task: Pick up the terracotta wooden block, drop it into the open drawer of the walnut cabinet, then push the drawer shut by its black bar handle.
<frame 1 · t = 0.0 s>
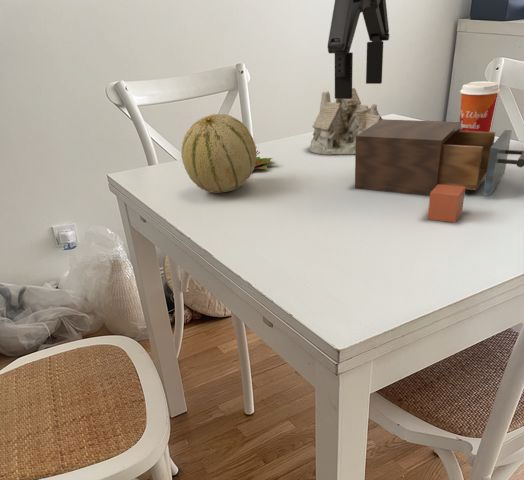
hand: (359, 90, 92), 18 cm above the table, tool pointing down, fingers open, 13 cm apart
cabinet: (405, 180, 107), on the table
lily flower: (251, 168, 123), on the table
cantaloupe: (223, 191, 111), on the table
drawer: (471, 159, 98), point 5 cm above the table, slide at 8.0 cm
paper cup: (471, 155, 118), on the table
ceramic cottage: (347, 149, 130), on the table
block: (444, 216, 90), on the table
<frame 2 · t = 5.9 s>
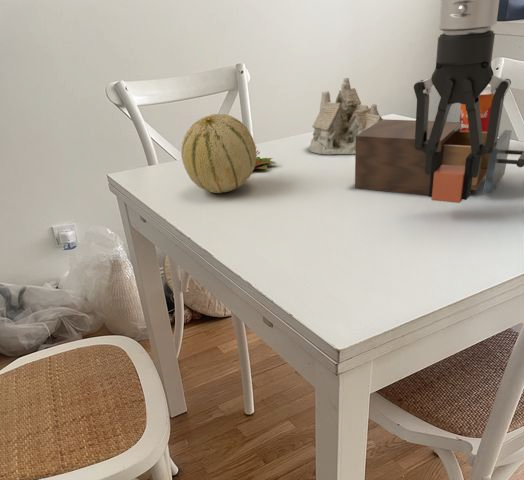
hand: (449, 195, 88), 4 cm above the table, tool pointing down, fingers closed on block, 4 cm apart
block: (449, 197, 88), point 3 cm above the table, touching gripper
everything else where it was.
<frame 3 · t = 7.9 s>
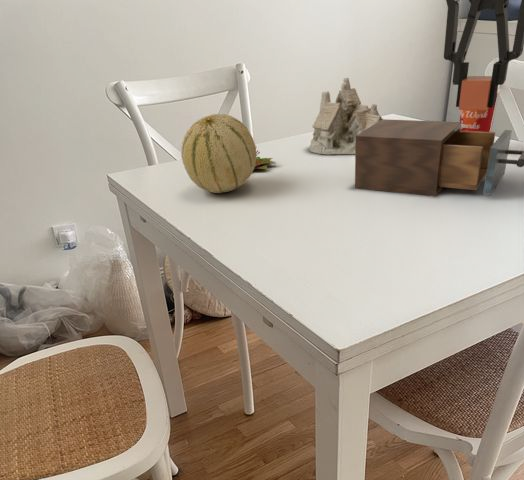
hand: (475, 105, 93), 14 cm above the table, tool pointing down, fingers closed on block, 4 cm apart
block: (475, 107, 93), point 14 cm above the table, touching gripper
everything else where it was.
when the fingers open (7 cm above the table, at t = 10.2 s): block drops 4 cm, resting on drawer.
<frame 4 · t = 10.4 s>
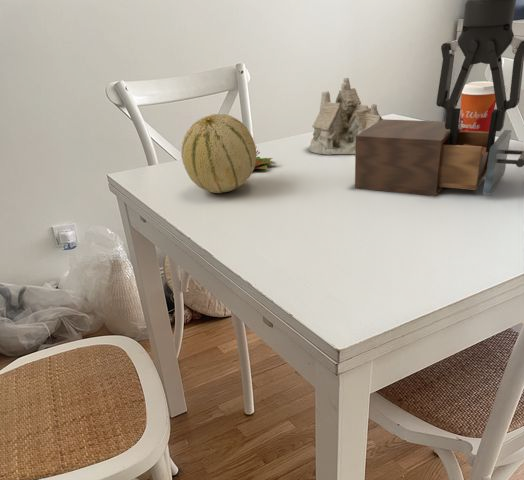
hand: (470, 148, 97), 7 cm above the table, tool pointing down, fingers open, 6 cm apart
drawer: (471, 159, 98), point 5 cm above the table, slide at 8.0 cm, touching block
block: (467, 173, 100), point 2 cm above the table, tilted 6°, touching drawer
everything else where it was.
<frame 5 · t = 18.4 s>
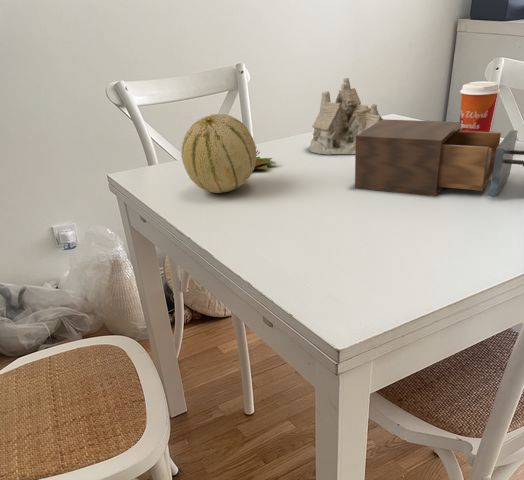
drawer: (477, 160, 98), point 5 cm above the table, slide at 9.0 cm, touching block, gripper
block: (472, 175, 100), point 2 cm above the table, touching drawer
everything else where it was.
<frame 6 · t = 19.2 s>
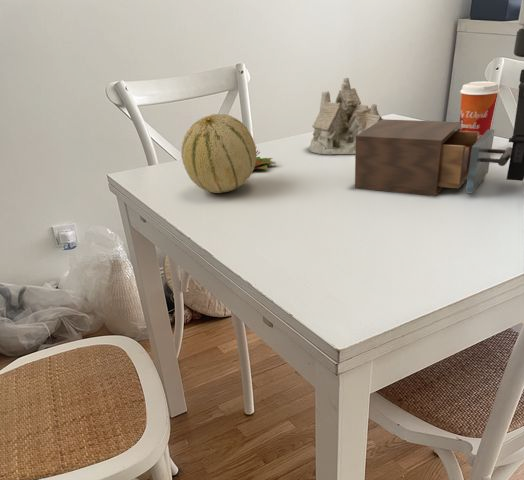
hand: (515, 178, 96), 2 cm above the table, tool pointing down, fingers closed
drawer: (454, 158, 100), point 5 cm above the table, slide at 5.0 cm, touching block, gripper
block: (451, 173, 101), point 2 cm above the table, touching drawer
everything else where it was.
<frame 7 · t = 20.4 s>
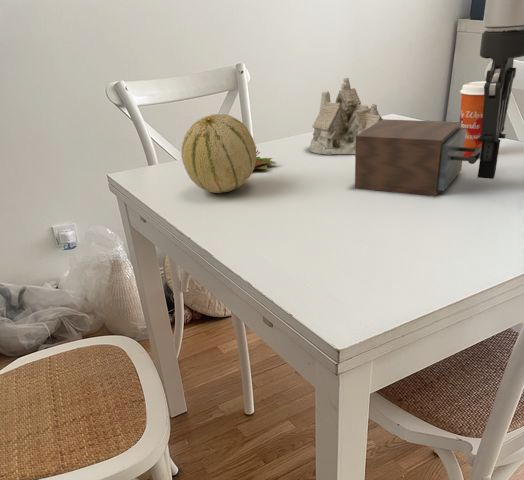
hand: (486, 177, 99), 2 cm above the table, tool pointing down, fingers closed
drawer: (427, 157, 102), point 5 cm above the table, slide at 0.0 cm, touching block, cabinet, gripper
block: (424, 171, 104), point 2 cm above the table, touching drawer
everything else where it was.
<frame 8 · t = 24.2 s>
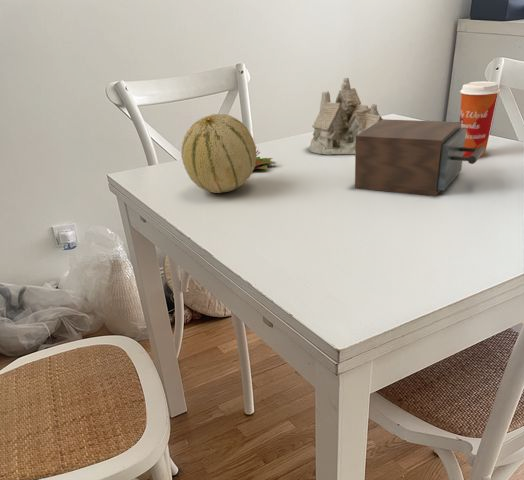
drawer: (427, 157, 102), point 5 cm above the table, slide at 0.0 cm, touching block, cabinet
everything else where it was.
at the end: block inside the target area in the cabinet (3.6 cm from its centre), point 2.1 cm above the cabinet's base; drawer slide at 0.0 cm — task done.
